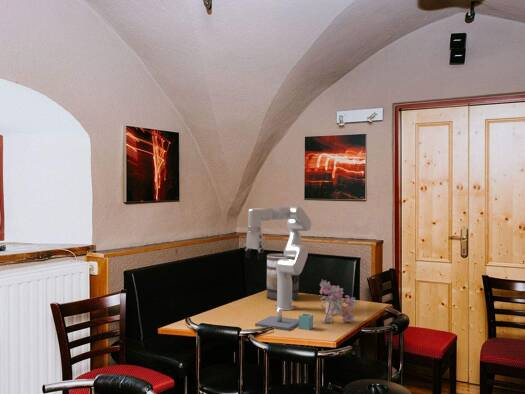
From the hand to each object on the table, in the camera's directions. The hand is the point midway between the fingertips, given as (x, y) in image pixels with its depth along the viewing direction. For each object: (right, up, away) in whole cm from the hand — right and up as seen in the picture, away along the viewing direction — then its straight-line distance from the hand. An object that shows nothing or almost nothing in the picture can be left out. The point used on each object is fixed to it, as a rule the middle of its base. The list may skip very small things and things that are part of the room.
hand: (254, 258), depth 301 cm
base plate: (+14, -35, -16) cm, 41 cm away
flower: (+49, -35, -9) cm, 61 cm away
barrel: (+19, -35, +57) cm, 70 cm away
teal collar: (+29, -35, -24) cm, 51 cm away
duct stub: (+14, -33, -16) cm, 40 cm away
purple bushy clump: (+47, -35, +12) cm, 60 cm away
